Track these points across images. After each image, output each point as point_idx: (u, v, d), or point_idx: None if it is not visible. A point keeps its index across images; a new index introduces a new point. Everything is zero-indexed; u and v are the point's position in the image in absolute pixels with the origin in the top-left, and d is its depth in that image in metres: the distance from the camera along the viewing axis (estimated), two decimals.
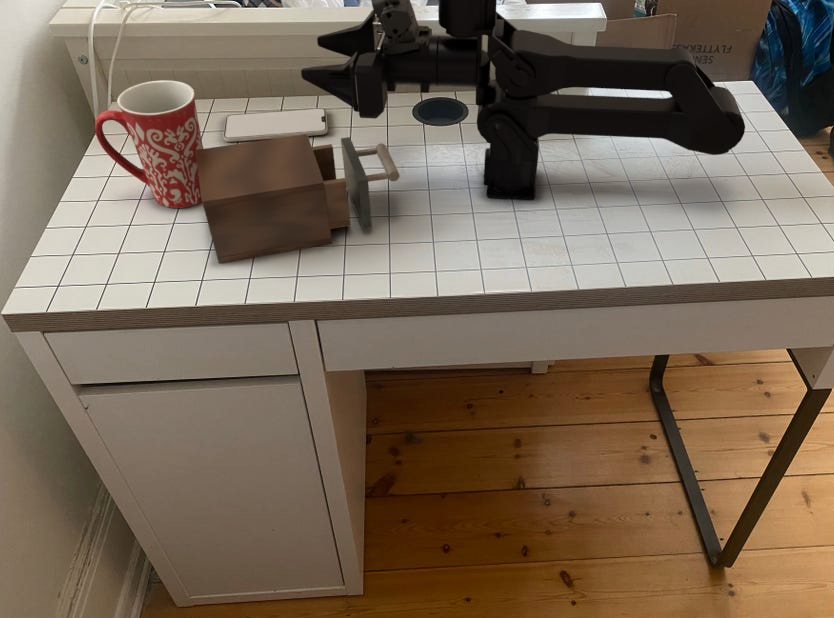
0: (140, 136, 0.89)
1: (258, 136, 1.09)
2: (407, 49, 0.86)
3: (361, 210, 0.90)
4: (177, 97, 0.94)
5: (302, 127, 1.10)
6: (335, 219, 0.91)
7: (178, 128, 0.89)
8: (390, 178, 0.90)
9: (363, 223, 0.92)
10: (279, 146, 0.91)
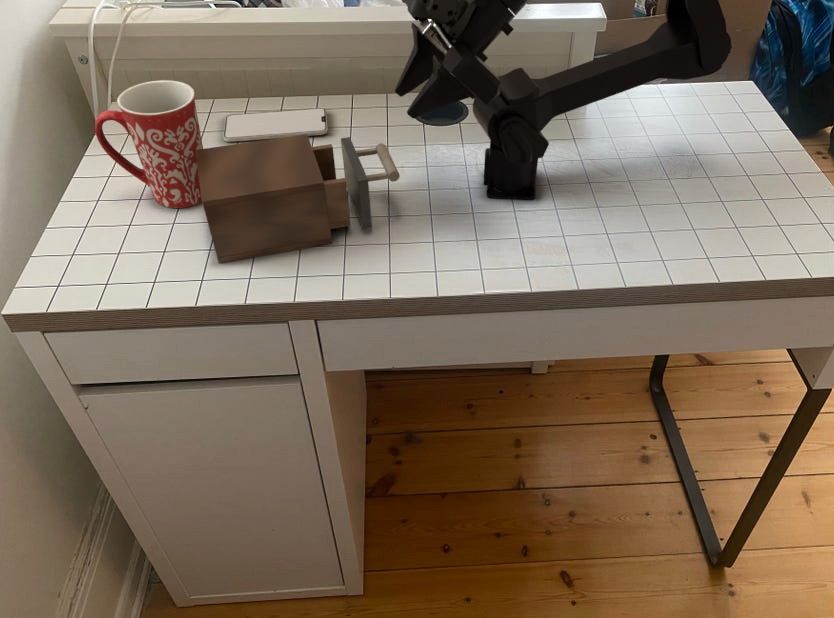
0: (140, 136, 0.89)
1: (258, 136, 1.09)
2: (469, 16, 0.80)
3: (361, 210, 0.90)
4: (177, 97, 0.94)
5: (302, 127, 1.10)
6: (335, 219, 0.91)
7: (178, 128, 0.89)
8: (390, 178, 0.90)
9: (363, 223, 0.92)
10: (279, 146, 0.91)
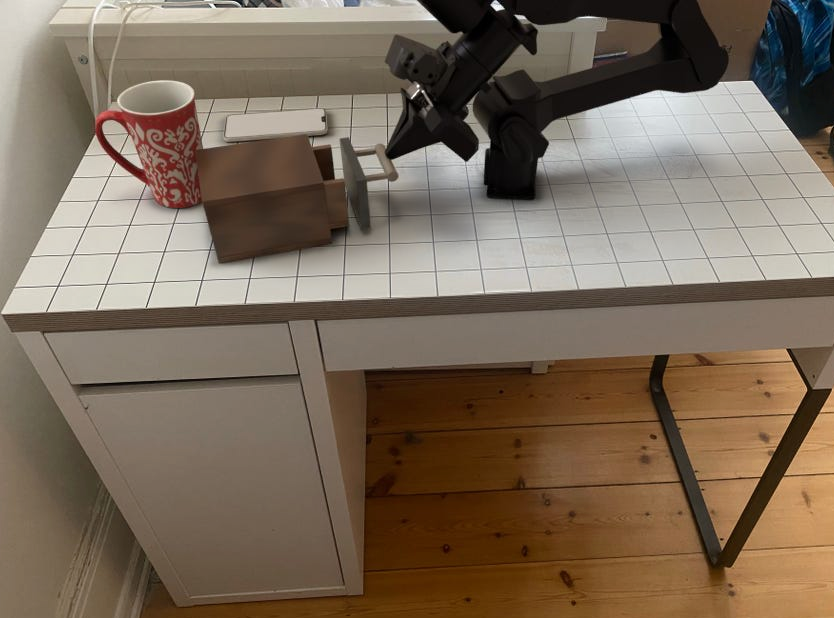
0: (140, 136, 0.89)
1: (258, 136, 1.09)
2: (449, 77, 0.85)
3: (360, 210, 0.90)
4: (177, 97, 0.94)
5: (302, 127, 1.10)
6: (334, 219, 0.91)
7: (178, 128, 0.89)
8: (389, 178, 0.90)
9: (362, 223, 0.92)
10: (279, 146, 0.91)
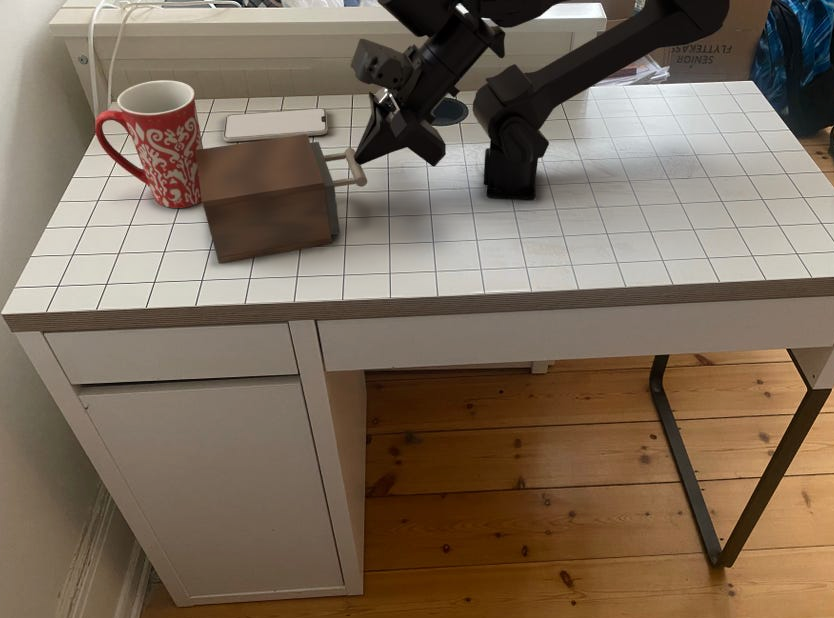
0: (140, 136, 0.89)
1: (258, 136, 1.09)
2: (415, 81, 0.84)
3: (328, 215, 0.90)
4: (177, 97, 0.94)
5: (302, 127, 1.10)
6: None
7: (178, 128, 0.89)
8: (357, 183, 0.90)
9: (331, 229, 0.91)
10: (279, 146, 0.91)
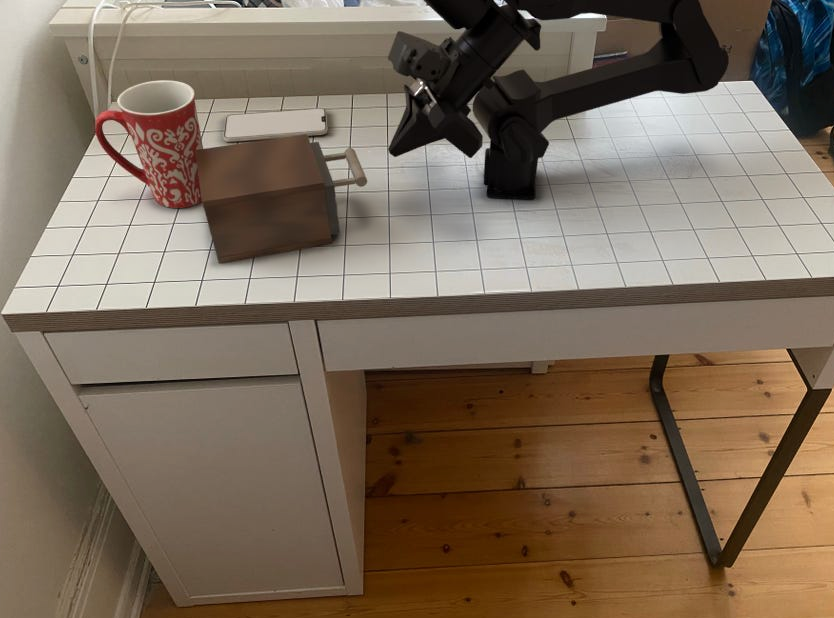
0: (140, 136, 0.89)
1: (258, 136, 1.09)
2: (452, 73, 0.84)
3: (328, 215, 0.90)
4: (177, 97, 0.94)
5: (302, 127, 1.10)
6: None
7: (178, 128, 0.89)
8: (357, 183, 0.90)
9: (331, 229, 0.91)
10: (279, 146, 0.91)
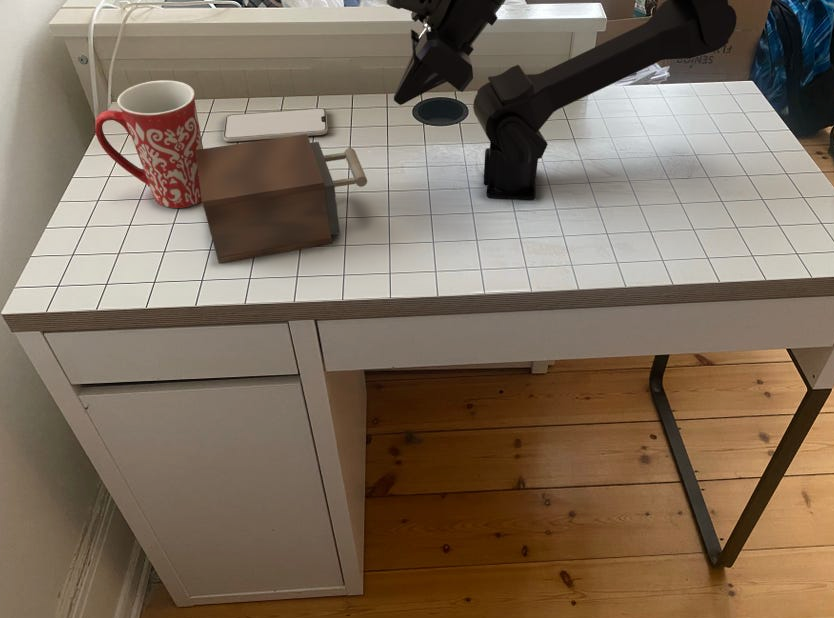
0: (140, 136, 0.89)
1: (258, 136, 1.09)
2: (446, 5, 0.80)
3: (328, 215, 0.90)
4: (177, 97, 0.94)
5: (302, 127, 1.10)
6: None
7: (178, 128, 0.89)
8: (357, 183, 0.90)
9: (331, 229, 0.91)
10: (279, 146, 0.91)
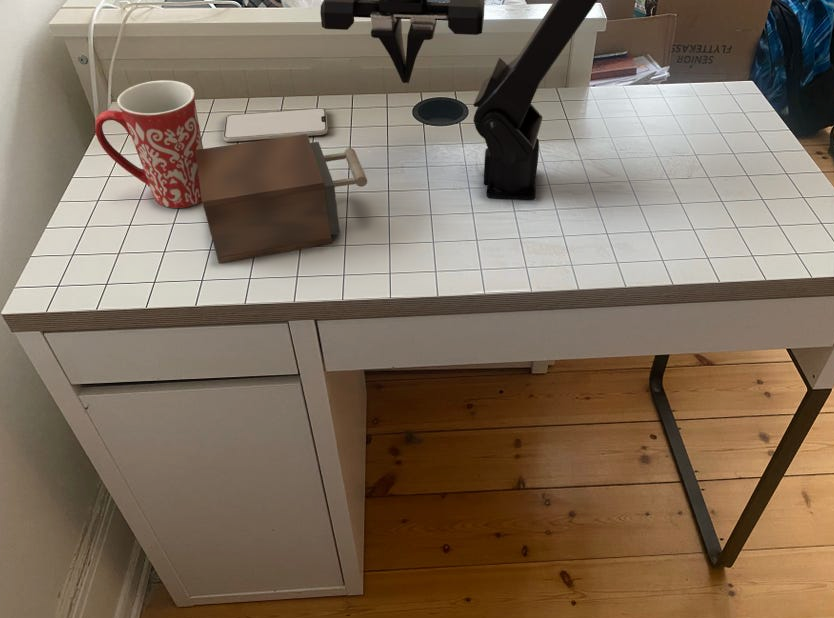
0: (140, 136, 0.89)
1: (258, 136, 1.09)
2: None
3: (328, 215, 0.90)
4: (177, 97, 0.94)
5: (302, 127, 1.10)
6: None
7: (178, 128, 0.89)
8: (357, 183, 0.90)
9: (331, 229, 0.91)
10: (279, 146, 0.91)
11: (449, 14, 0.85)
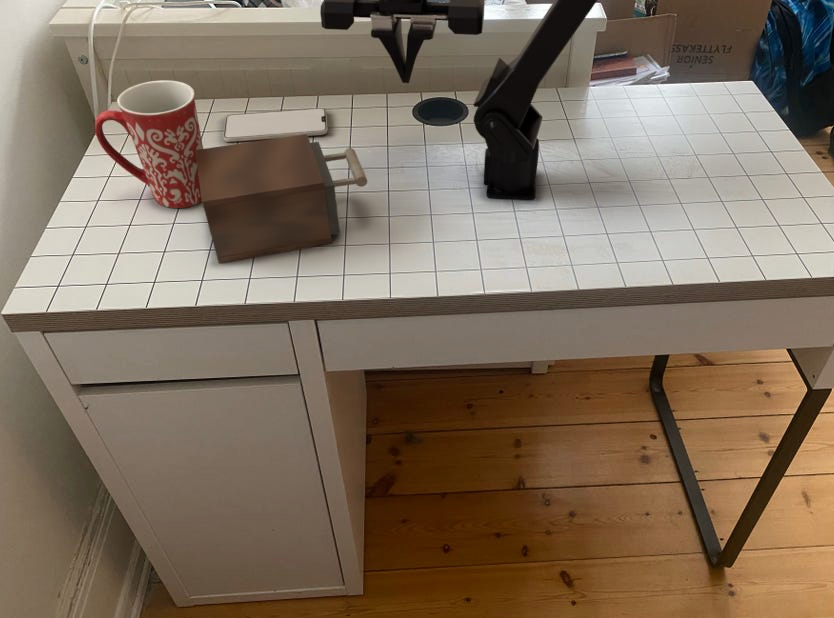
0: (140, 136, 0.89)
1: (258, 136, 1.09)
2: None
3: (328, 215, 0.90)
4: (177, 97, 0.94)
5: (302, 127, 1.10)
6: None
7: (178, 128, 0.89)
8: (357, 183, 0.90)
9: (331, 229, 0.91)
10: (279, 146, 0.91)
11: (449, 14, 0.85)
